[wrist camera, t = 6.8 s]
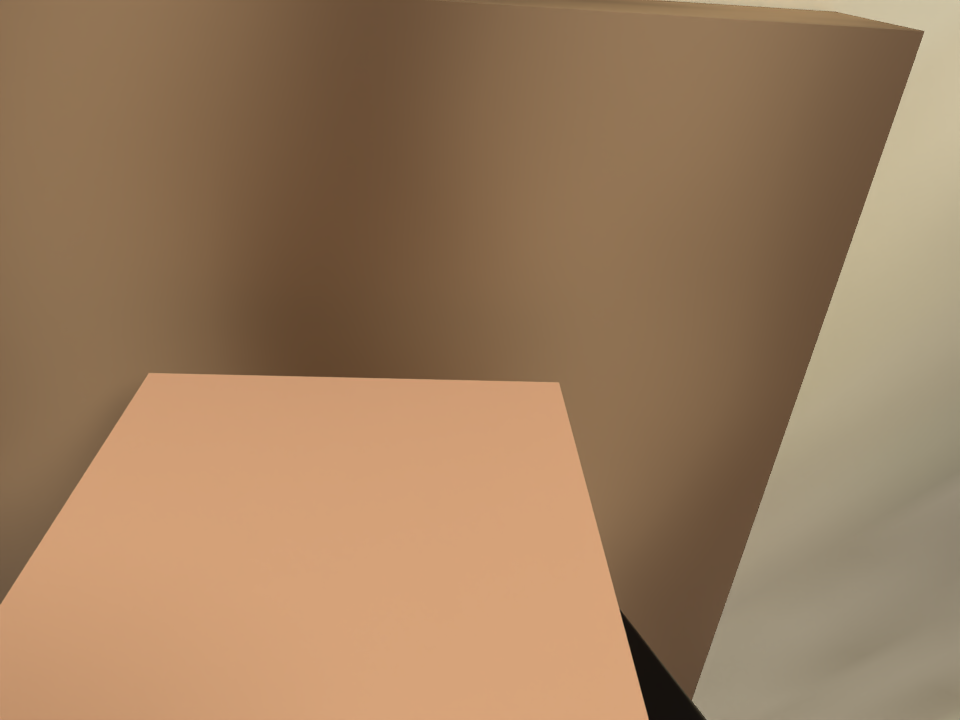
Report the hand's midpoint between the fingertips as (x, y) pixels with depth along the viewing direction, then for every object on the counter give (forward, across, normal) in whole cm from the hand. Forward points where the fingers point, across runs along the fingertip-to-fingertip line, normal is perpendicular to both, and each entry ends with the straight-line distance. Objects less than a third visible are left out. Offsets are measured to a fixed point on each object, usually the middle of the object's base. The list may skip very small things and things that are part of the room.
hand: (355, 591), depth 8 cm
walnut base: (+4, 0, 0) cm, 4 cm away
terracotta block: (+1, 0, 0) cm, 1 cm away
